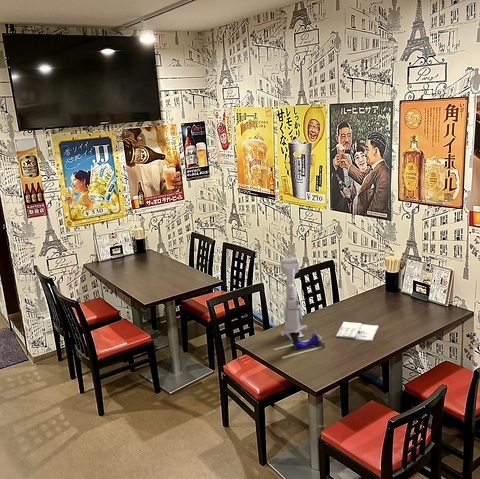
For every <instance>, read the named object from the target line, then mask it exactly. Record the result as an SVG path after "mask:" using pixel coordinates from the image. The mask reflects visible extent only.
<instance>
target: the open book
mask: <svg viewBox="0 0 480 479" xmlns="http://www.w3.org/2000/svg"><path fill="white" fill-rule="evenodd" d="M379 328H380V327H379V325H372V324H363V323H362V322H349V321H343V323H342V324H341V326H340V327H339V330H338V331H337V333H336V335H335V337H336V338H343V339H353V340H361V341H368V342H369V341H371V342H373V341H374V337H375V334H376V332H377V331H378V329H379Z"/></svg>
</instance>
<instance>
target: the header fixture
mask: <svg viewBox="0 0 480 479" xmlns="http://www.w3.org/2000/svg"><path fill="white" fill-rule="evenodd" d="M314 333H316V334H317V332H314ZM312 336H313V334H312V335H311V337H312ZM322 338H323V337H322V336H320V335H319V334H317V346H318V347H314V348H311V349H306V350H304V351H300V352H296V353H292V354H288V355H285V356H281V359H282V360H285V359H288V358H291V357H295V356H298V355H302V354H305V353H310V352H313V351H316V350H320V349H324V348H326V346H325V344H326V343H325V341H324V340H323V339H322ZM309 340H310V339H306V340H303V341H302V342H306V341H309ZM290 347H295V346H294V345H293V343H292V344H288V345H284V346H279V347H277V348H274V349H273V351H275V352H276V351H279V350H282V349H286V348H290Z"/></svg>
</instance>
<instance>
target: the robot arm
mask: <svg viewBox="0 0 480 479" xmlns="http://www.w3.org/2000/svg"><path fill="white" fill-rule="evenodd" d="M280 270H281V273H282V274H284V275H285V277H286V284H287V286H286V287H285V297H286V298H285V306H284V308H283V315H284V316H283V318H284V321H285V322H284V328H285V329H283V330H280V335H281V336H282V337H283V336H286V337H288V338H289V339H290V340H292V344H293V345H297V338H298V339H299V338H303V337H305V335H304V334H303V333H302V332H301V331H304V330H305V331H307V330H308V326H307V325H306V324H304V325H301V321H302V320H303V313H302V312H303V310H302V307H301V305H300V304H299V298H298V290H297V286H296V282H295V281H296V280H295V276H296V274H297V273H298V274H299V271H300V261H299V258H298V257H297V258H281V259H280Z"/></svg>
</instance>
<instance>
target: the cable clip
mask: <svg viewBox="0 0 480 479" xmlns="http://www.w3.org/2000/svg"><path fill="white" fill-rule="evenodd" d="M312 335H313V336H312ZM312 335H311V338H309V339H308V340H309V341H306V340H305V341H306V342H302V341H301V340H300V339H299V338H297V345H294V346H293V347H294V349H295V350H301V349H303V350H304V349H307V348H308V347H316V346H318V344H317V335H318V333H317V332H316V333H315V332H313V333H312Z"/></svg>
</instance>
